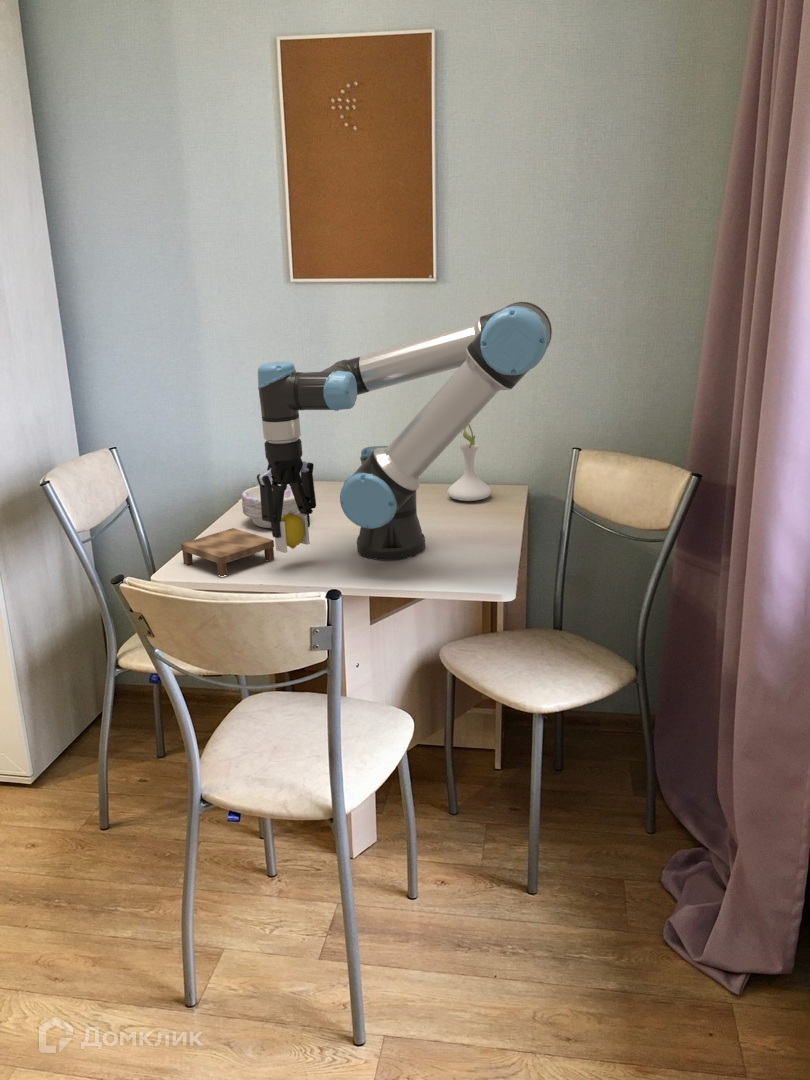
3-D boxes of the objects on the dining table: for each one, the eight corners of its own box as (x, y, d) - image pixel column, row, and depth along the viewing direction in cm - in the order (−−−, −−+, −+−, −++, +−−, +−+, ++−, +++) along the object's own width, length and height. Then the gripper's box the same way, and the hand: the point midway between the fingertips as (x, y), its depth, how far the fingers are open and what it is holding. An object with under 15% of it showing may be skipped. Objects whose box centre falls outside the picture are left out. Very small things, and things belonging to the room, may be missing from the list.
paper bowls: (318, 517, 241) (316, 486, 239) (285, 535, 228) (283, 502, 226) (265, 511, 247) (263, 480, 245) (231, 528, 234) (228, 496, 232)
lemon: (311, 547, 207) (308, 511, 205) (292, 554, 203) (288, 518, 201) (294, 542, 211) (290, 507, 208) (274, 549, 207) (270, 513, 204)
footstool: (273, 540, 211) (221, 557, 201) (275, 559, 212) (222, 578, 202) (233, 527, 220) (180, 543, 210) (234, 546, 221) (183, 563, 212)
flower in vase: (447, 492, 259) (446, 398, 251) (490, 491, 258) (490, 397, 250) (447, 506, 246) (446, 408, 238) (492, 506, 246) (493, 407, 238)
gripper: (304, 428, 208) (313, 532, 216) (234, 446, 196) (247, 556, 203) (328, 432, 204) (337, 538, 211) (258, 450, 191) (270, 562, 198)
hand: (293, 546), depth 207 cm, fingers closed on lemon, 5 cm apart
